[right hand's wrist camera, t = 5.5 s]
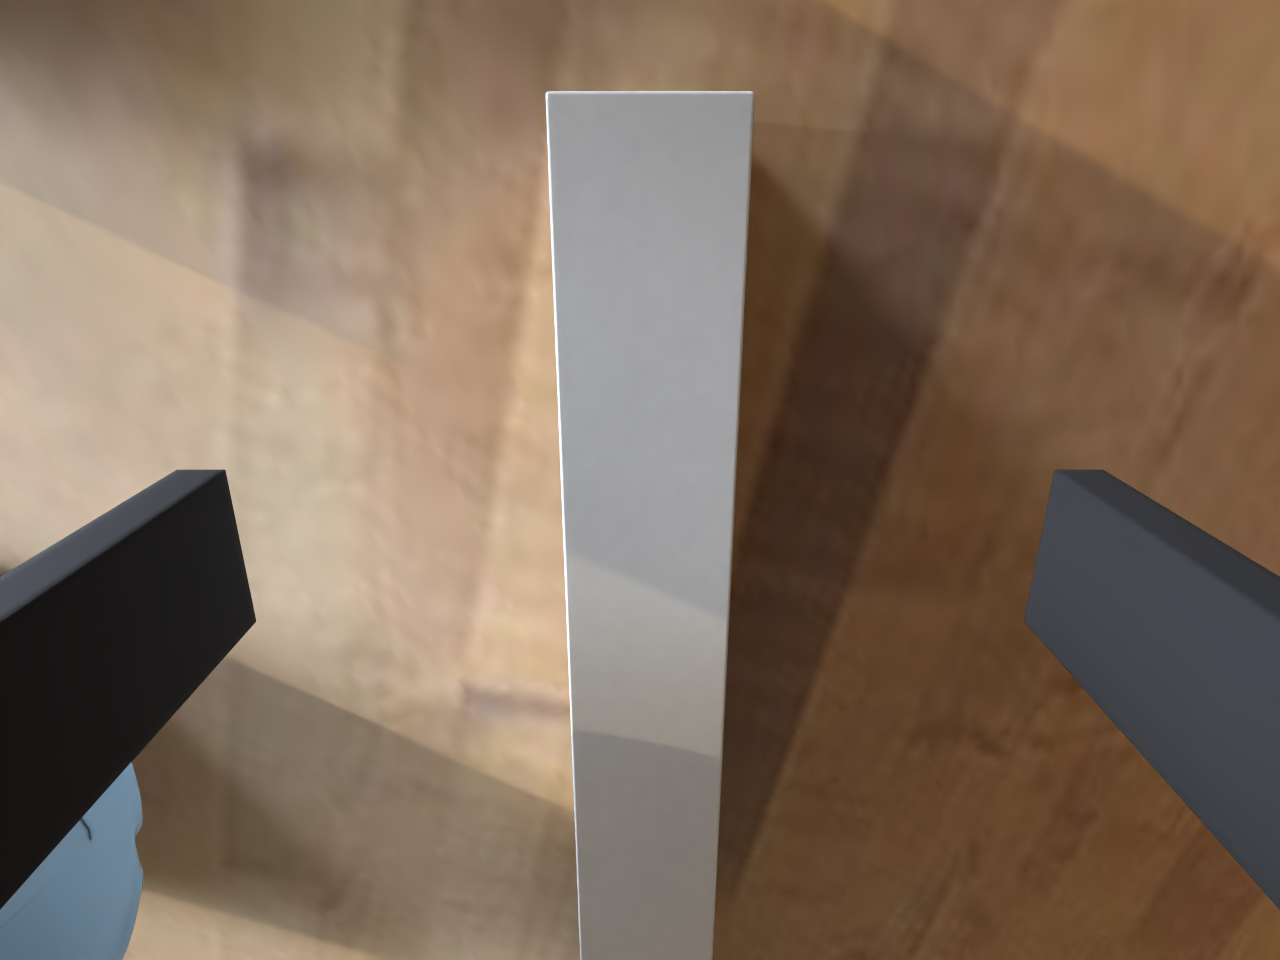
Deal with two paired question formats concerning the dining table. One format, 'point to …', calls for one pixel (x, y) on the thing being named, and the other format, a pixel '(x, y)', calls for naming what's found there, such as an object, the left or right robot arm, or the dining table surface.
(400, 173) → the dining table surface
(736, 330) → the post
